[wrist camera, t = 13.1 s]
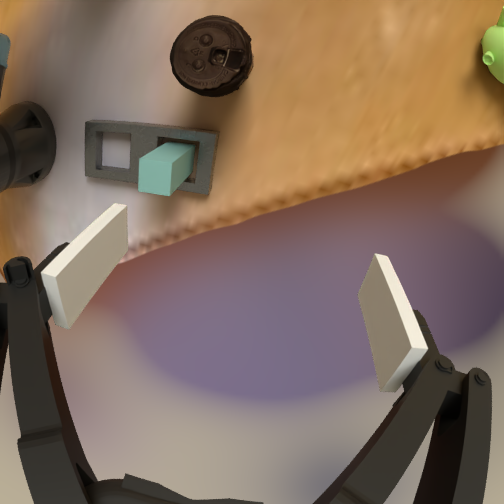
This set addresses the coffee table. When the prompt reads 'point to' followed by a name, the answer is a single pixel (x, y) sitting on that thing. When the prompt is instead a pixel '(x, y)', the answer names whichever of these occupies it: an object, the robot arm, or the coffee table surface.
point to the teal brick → (165, 168)
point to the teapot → (495, 49)
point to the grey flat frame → (149, 150)
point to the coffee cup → (212, 56)
